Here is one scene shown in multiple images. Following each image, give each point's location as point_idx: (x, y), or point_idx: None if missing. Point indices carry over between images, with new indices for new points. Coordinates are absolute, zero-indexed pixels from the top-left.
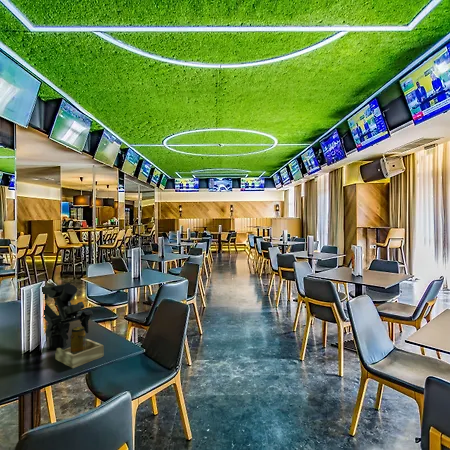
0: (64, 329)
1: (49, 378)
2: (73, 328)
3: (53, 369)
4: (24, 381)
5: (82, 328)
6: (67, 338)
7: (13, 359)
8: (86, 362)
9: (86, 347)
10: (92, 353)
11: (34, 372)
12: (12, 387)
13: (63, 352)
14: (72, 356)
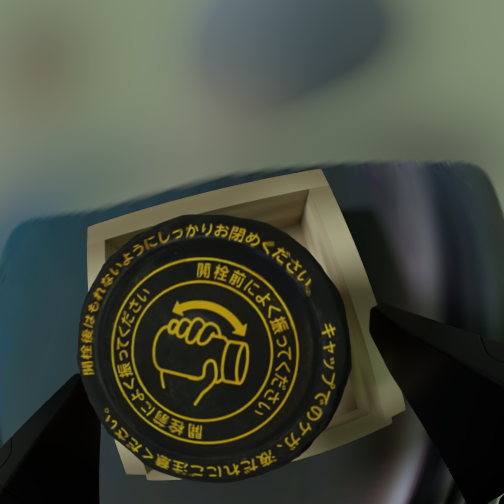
0: (488, 371)
1: (404, 185)
2: (301, 420)
3: (395, 266)
4: (475, 227)
5: (127, 261)
6: (383, 306)
7: None
8: None
9: None
10: None
11: (461, 290)
12: (491, 209)
13: (371, 296)
14: (321, 174)
